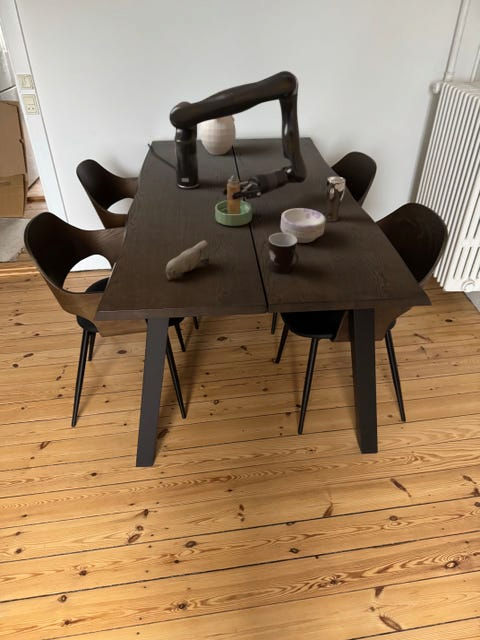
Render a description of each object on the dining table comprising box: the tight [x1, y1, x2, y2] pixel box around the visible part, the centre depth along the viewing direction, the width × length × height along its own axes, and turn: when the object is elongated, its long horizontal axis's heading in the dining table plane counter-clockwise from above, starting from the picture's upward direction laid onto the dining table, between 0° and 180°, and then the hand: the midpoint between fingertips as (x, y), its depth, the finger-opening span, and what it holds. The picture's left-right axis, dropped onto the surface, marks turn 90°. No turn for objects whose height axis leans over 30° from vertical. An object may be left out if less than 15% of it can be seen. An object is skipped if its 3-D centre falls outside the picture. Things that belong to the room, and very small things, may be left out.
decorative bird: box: [165, 240, 210, 281], centre depth 131 cm, size 5×16×8 cm, turn 137°
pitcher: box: [199, 115, 237, 156], centre depth 220 cm, size 19×18×25 cm
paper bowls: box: [280, 207, 327, 244], centre depth 149 cm, size 15×15×8 cm
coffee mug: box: [268, 232, 299, 274], centre depth 131 cm, size 12×9×10 cm
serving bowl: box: [214, 199, 253, 227], centre depth 161 cm, size 14×14×5 cm
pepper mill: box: [226, 174, 241, 214], centre depth 157 cm, size 5×5×14 cm
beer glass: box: [322, 175, 346, 223], centre depth 160 cm, size 7×7×15 cm
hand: (228, 194), depth 155 cm, fingers closed on pepper mill, 5 cm apart
